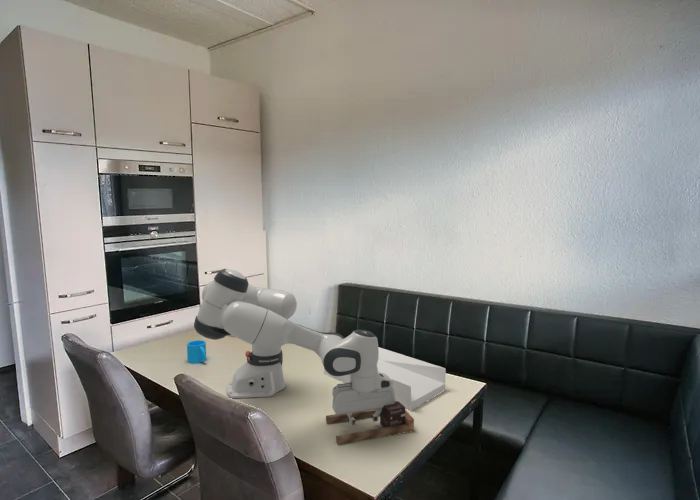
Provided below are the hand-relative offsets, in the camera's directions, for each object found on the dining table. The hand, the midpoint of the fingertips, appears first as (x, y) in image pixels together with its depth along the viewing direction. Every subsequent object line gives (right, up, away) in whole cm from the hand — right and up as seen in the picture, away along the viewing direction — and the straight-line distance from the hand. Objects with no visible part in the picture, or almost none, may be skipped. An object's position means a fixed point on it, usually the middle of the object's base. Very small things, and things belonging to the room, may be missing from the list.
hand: (363, 422), depth 131 cm
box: (+9, -2, +1) cm, 9 cm away
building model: (+8, +1, +34) cm, 35 cm away
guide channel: (+1, -2, 0) cm, 2 cm away
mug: (-73, +4, +56) cm, 92 cm away
